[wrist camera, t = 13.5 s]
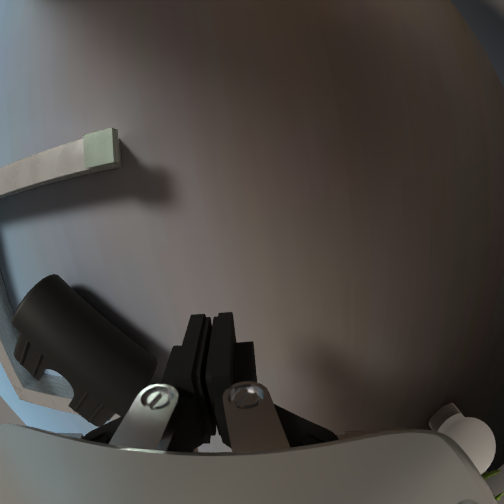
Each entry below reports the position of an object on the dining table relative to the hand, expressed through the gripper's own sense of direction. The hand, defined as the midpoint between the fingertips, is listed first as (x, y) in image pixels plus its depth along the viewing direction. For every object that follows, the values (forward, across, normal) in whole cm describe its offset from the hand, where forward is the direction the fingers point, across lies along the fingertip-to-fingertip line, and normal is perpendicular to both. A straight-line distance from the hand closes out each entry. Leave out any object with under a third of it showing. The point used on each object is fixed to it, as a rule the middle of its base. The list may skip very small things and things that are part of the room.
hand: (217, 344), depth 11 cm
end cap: (+9, +11, +4) cm, 15 cm away
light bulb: (+8, -24, +21) cm, 33 cm away
